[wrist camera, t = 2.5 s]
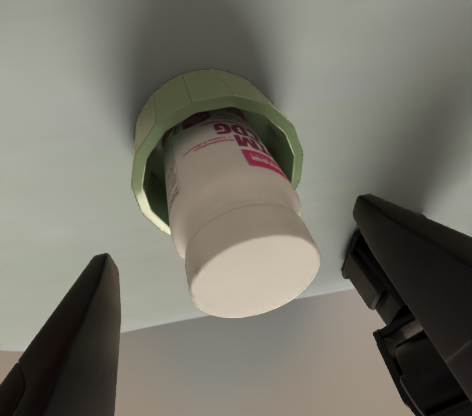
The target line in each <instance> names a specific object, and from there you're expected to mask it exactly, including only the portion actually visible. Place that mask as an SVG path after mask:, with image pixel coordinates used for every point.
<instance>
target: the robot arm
mask: <svg viewBox="0 0 472 416" xmlns="http://www.w3.org/2000/svg"><path fill="white" fill-rule="evenodd" d="M353 217H354V219H355V221H356V223H357V225H358V227H359V229H360V230H358V231H357V232H356V233H355V234H354V237H353V241H352V244H351V247H350V250H349V253H348V256H347V259H346V262H345V265H344V268H343V271H342V276H343V277H344V279H350V281H351V282H352V284H353V285H354V287H355V288H356V289H357V291H358V293H359V294H360V296H361V297H362V298H363V300H364V302H365V303H366V305H367V306H368V308H370V309H371V310H374V309H376V311H377V312H378V314H379V315H380V317H381V318H382V319H383V321H384V322H385V324H386V325H387V326H385V327H384V328H382V329H378V330H376V331H375V332H373V336H374V338H375V340H376V342H377V346H378V348H379V351H380V353H381V355H382V357H383V359H384V361H385V364H386V366H387V368H388V370H389V372H390V375H391V377H392V379H393V381H394V383H395V385H396V388H397V389H398V392H399V394H400V396H401V398H402V400H403V402H404V404H405V405H406V406H407V407H409V408H410V409H411V411H412V412H413V413H414V414H415V415H416V416H472V237H470V236H468V235H465V234H463V233H461V232H458V231H456V230H454V229H451V228H449V227H447V226H444V225H442V224H440V223H437V222H435V221H432V220H430V219H428V218H427V217H426V216H424V215H423V214H421V215H418V214H416V213H414V212H411V211H409V210H407V209H404V208H402V207H400V206H397V205H395V204H393V203H390V202H388V201H386V200H383V199H381V198H379V197H376V196H374V195H372V194H364V195H360V196H358V197H357V200H356V203H355V206H354V210H353ZM120 327H121V303H120V285H119V271H118V268H117V266H116V265H115V263H114V261H113V260H112V258H111V256H110V255H109V254H108V253H104V254H100V255H96V256H94V257H93V258H92V260H91V261H90V263H89V264H88V265H87V267H86V268H85V269H84V271H83V272H82V273H81V275H80V276H79V278H78V279H77V280H76V282H75V283H74V284H73V286H72V287H71V289H70V290H69V291H68V293H67V294H66V295H65V297H64V298H63V300H62V301H61V302H60V304H59V305H58V306H57V308H56V309H55V311H54V312H53V313H52V315H51V316H50V317H49V319H48V320H47V322H46V323H45V324H44V326H43V327H42V328H41V330H40V331H39V333H38V334H37V335H36V337H35V338H34V339H33V341H32V342H31V344H30V345H29V346H28V348H27V349H26V350H25V352H24V353H23V355H22V356H21V357H20V359H19V361H18V362H19V363H16V364H15V365H14V367H13V368H12V370H11V371H10V372H9V374H8V375H7V376H6V378H5V379H4V380H3V382H2V383H1V384H0V416H114V412H115V398H116V383H117V369H118V355H119V341H120Z"/></svg>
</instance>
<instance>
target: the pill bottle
mask: <svg viewBox="0 0 472 416" xmlns="http://www.w3.org/2000/svg"><path fill="white" fill-rule="evenodd" d="M163 159H164V169H165V181H166V191H167V203H168V214H169V225H170V233H171V237H172V241H173V244H174V246H175V248H176V250H177V252H178V253H179V254H180V256H181V257H182V258H183V259H184V260H185V269H186V275H187V281H188V287H189V292H190V296H191V298H192V300H193V302H194V304H195V305H196V306H197V307H198V308H199V309H201V310H202V311H204V312H206V313H208V314H211V315H214V316H219V317H225V318H239V317H247V316H253V315H258V314H261V313H265V312H267V311H270V310H273V309H275V308H277V307H280V306H282V305H284V304H286V303H287V302H289V301H291V300H292V299H294V298H295V297H297V296H298V295H299V294H300V293H302V292H303V291H304V290H305V289H306V288H307V287H308V286H309V285H310V283H311V282H312V281H313V279H314V278H315V276H316V274H317V272H318V269H319V267H320V254H319V250H318V248H317V246H316V244H315V242H314V240H313V239H312V237H311V235H310V233H309V231H308V229H307V227H306V225H305V224H304V222H303V221H302V219H301V205H300V201H299V198H298V195H297V193H296V191H295V189H294V188H293V186H292V184H291V183H290V181H289V180H288V178H287V177H286V175H285V174H284V173H283V171H282V170H281V168H280V167H279V166H278V164H277V163H276V161H275V160H274V159H273V157H272V155H271V154H270V153H269V151H268V150H267V148H266V147H265V145H264V144H263V142H262V141H261V139H260V138H259V136H258V135H257V133H256V132H255V130H254V129H253V127H252V126H251V124H250V123H249V122H248V120H247V119H246V118H245V117H244V116H243V115H242V114H241V113H239V112H238V111H236V110H235V109H233V108H230V107H228V108H222V109H216V110H210V111H204V112H198V113H195V114H193V115H191V116H190V117H188V118H187V119H185V120H183V121H182V122H180V123H179V124H177V125H175V126H174V127H172V128H170V129H169V130H168V132H167V134H166V137H165V141H164V147H163Z"/></svg>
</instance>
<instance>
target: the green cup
mask: <svg viewBox="0 0 472 416" xmlns="http://www.w3.org/2000/svg"><path fill="white" fill-rule="evenodd" d="M228 107H230V108H233V109H235V110H236V111H238V112H239V113H241V114H242V115H243V116H244V117H245V118H246V119H247V120H248V122H249V123H250V124H251V126H252V127H253V129H254V130H255V132H256V133H257V135H258V136H259V138H260V139H261V141H262V142H263V144H264V145H265V147H266V148H267V150H268V151H269V153H270V154H271V155H272V157H273V159H274V160H275V161H276V163H277V164H278V166H279V167H280V168H281V170H282V171H283V173H284V174H285V175H286V177H287V178H288V180H289V181H290V183H291V184H292V186H293V188H294V189H296V187H297V185H298V184H299V182H300V179H301V170H302V160H303V150H302V147H301V145H300V142H299V139H298V136H297V134H296V131H295V128H294V126H293V124H292V123H291V122H290V121H289V120H288V119H287V118H286V117H285V116H284V115H283V114H282V113H281V112H280V111H279V110H278V109H277V108H276V107H275V106H274V105H273V103H272V102H271V101H270V100H269V99H268V98H267V97H266V96H265V95H264V94H262V93H261V92H260V91H259V90H258V89H257V88H256V87H255V86H254V85H252V84H251V83H250V82H249V81H248V80H247V79H245V78H243V77H240V76H237V75H235V74H232V73H229V72H225V71H220V70H197V71H192V72H188V73H185V74H182V75H180V76H177V77H175V78H173V79H171V80H169V81H168V82H166V83H165V84H164V85H162V86H161V87H160V88H158V89H157V90H156V91H155V92H154V93H153V94H152V95H151V96H150V98H149V99H148V101H147V102H146V103H145V105H144V107H143V109H142V110H141V112H140V114H139V116H138V118H137V120H136V128H135V138H134V147H133V162H132V177H131V188H132V190H133V193H134V195H135V198H136V200H137V203H138V205H139V208H140V210H141V212H142V214H143V215H144V216H145V217H147V218H148V219H149V220H150V221H151V222H152V223H153V224H154V225H155V226H157V227H158V228H159V229H160V230H161V231H162V232H164V233H167V234H170V235H171V233H170V225H169V214H168V203H167V191H166V181H165V169H164V159H163V147H164V141H165V137H166V134H167V132H168V130H169V129H170V128H172V127H174V126H175V125H177V124H179V123H180V122H182V121H183V120H185V119H187V118H188V117H190V116H191V115H193V114H195V113H198V112H204V111H210V110H216V109H222V108H228Z"/></svg>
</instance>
